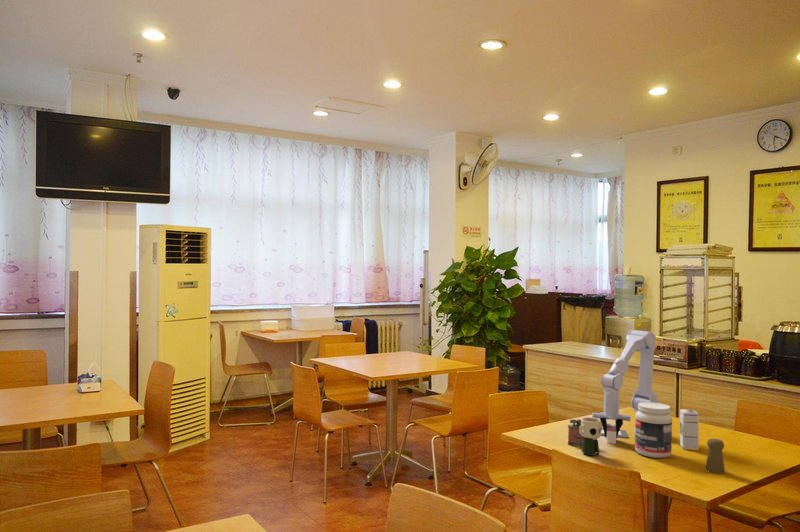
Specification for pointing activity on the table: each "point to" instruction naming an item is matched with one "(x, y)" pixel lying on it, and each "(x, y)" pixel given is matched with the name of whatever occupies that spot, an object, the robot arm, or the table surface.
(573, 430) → the lighter
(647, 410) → the supplement tub
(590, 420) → the character mug
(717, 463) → the grey pepper shaker
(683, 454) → the table surface
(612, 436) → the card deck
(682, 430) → the syrup box
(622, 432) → the mat
